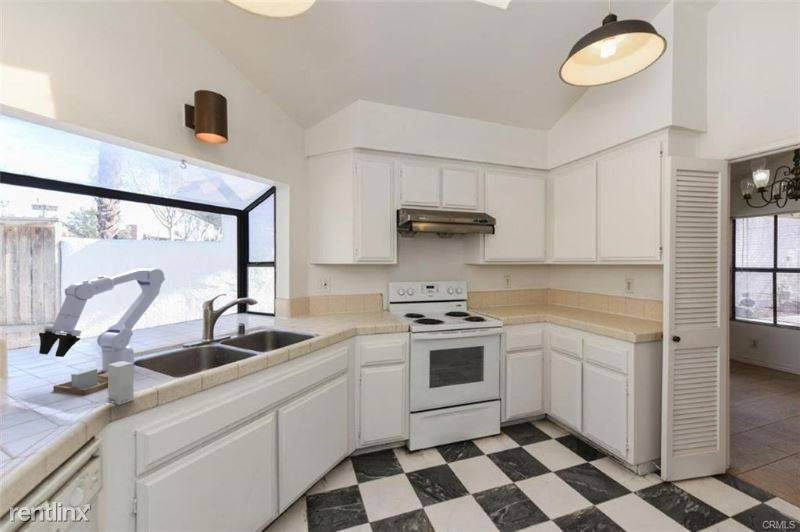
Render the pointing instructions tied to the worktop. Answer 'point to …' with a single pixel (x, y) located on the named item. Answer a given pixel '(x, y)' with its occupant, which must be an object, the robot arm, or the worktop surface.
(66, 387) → the frame
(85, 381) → the pale grey rectangular prism
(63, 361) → the worktop surface
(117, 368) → the skincare box
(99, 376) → the offcut short
